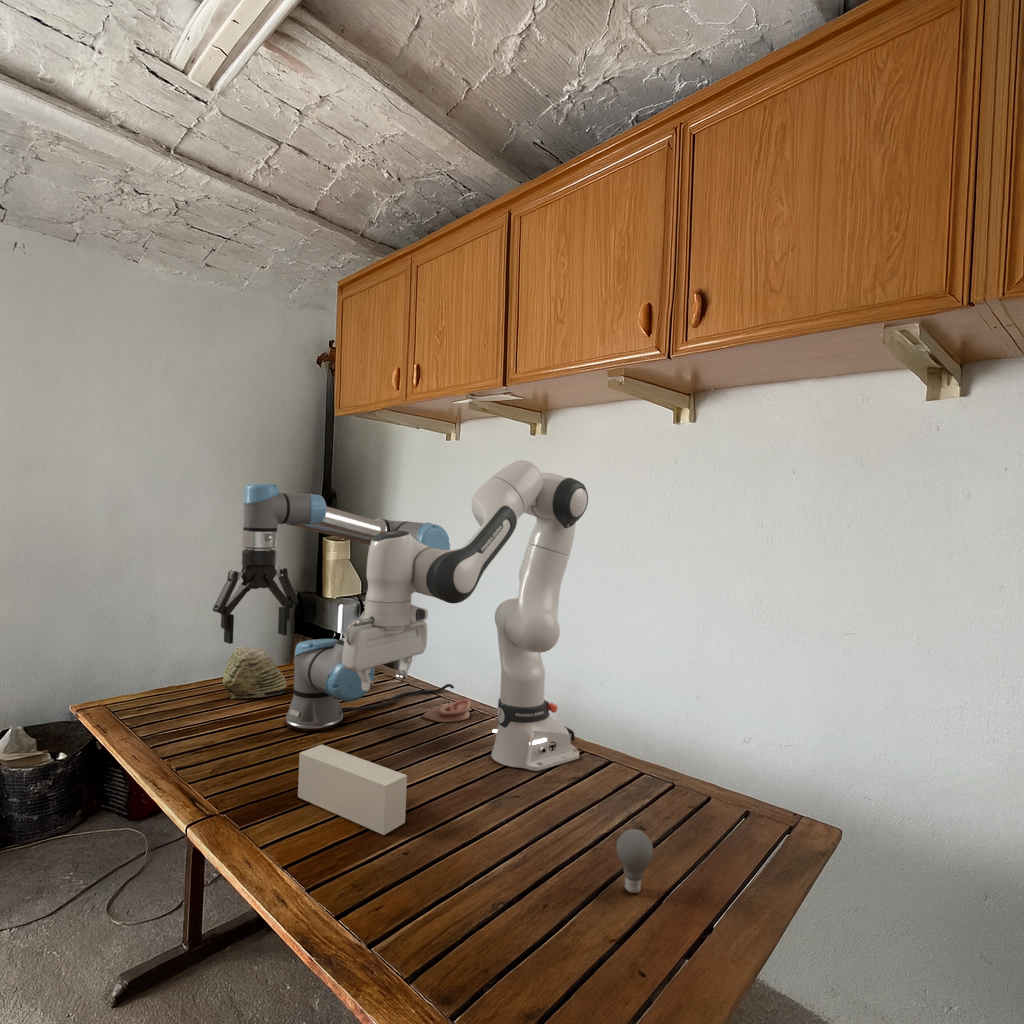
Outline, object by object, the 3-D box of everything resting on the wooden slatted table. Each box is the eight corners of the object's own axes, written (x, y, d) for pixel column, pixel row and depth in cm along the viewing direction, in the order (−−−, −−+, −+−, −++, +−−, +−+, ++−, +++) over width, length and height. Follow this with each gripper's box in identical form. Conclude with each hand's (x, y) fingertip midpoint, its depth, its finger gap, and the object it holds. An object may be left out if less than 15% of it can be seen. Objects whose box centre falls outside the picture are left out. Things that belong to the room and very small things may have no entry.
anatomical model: (419, 705, 182) (432, 694, 193) (418, 719, 182) (431, 707, 193) (463, 711, 179) (474, 698, 190) (463, 725, 179) (473, 712, 190)
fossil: (218, 695, 195) (220, 647, 195) (278, 685, 208) (279, 640, 207) (228, 703, 189) (230, 653, 188) (289, 692, 201) (290, 645, 201)
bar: (297, 797, 133) (299, 752, 133) (320, 787, 138) (321, 744, 138) (383, 835, 120) (385, 785, 120) (405, 822, 125) (407, 775, 125)
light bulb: (610, 879, 108) (613, 822, 108) (644, 879, 109) (647, 822, 109) (619, 902, 102) (622, 840, 102) (655, 901, 103) (658, 840, 103)
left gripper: (215, 552, 138) (211, 649, 138) (314, 548, 157) (311, 633, 157) (198, 549, 142) (195, 643, 143) (297, 546, 162) (294, 628, 162)
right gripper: (360, 623, 113) (357, 700, 113) (433, 609, 130) (430, 676, 131) (335, 618, 117) (332, 693, 117) (410, 605, 134) (407, 670, 134)
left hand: (256, 638), depth 150 cm, fingers open, 13 cm apart
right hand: (385, 684), depth 124 cm, fingers open, 8 cm apart
